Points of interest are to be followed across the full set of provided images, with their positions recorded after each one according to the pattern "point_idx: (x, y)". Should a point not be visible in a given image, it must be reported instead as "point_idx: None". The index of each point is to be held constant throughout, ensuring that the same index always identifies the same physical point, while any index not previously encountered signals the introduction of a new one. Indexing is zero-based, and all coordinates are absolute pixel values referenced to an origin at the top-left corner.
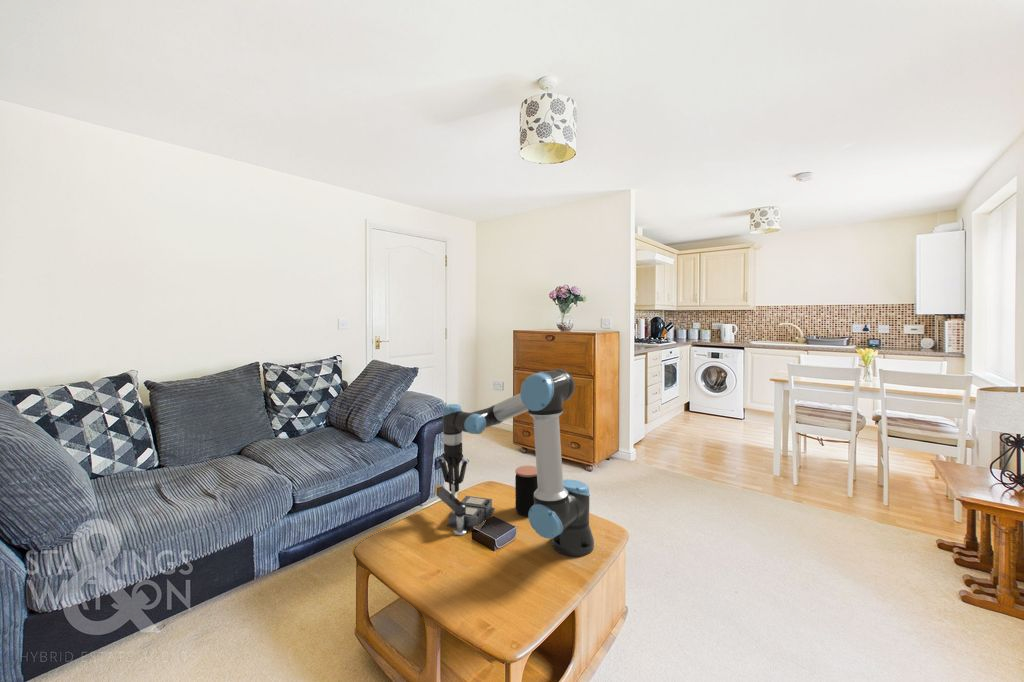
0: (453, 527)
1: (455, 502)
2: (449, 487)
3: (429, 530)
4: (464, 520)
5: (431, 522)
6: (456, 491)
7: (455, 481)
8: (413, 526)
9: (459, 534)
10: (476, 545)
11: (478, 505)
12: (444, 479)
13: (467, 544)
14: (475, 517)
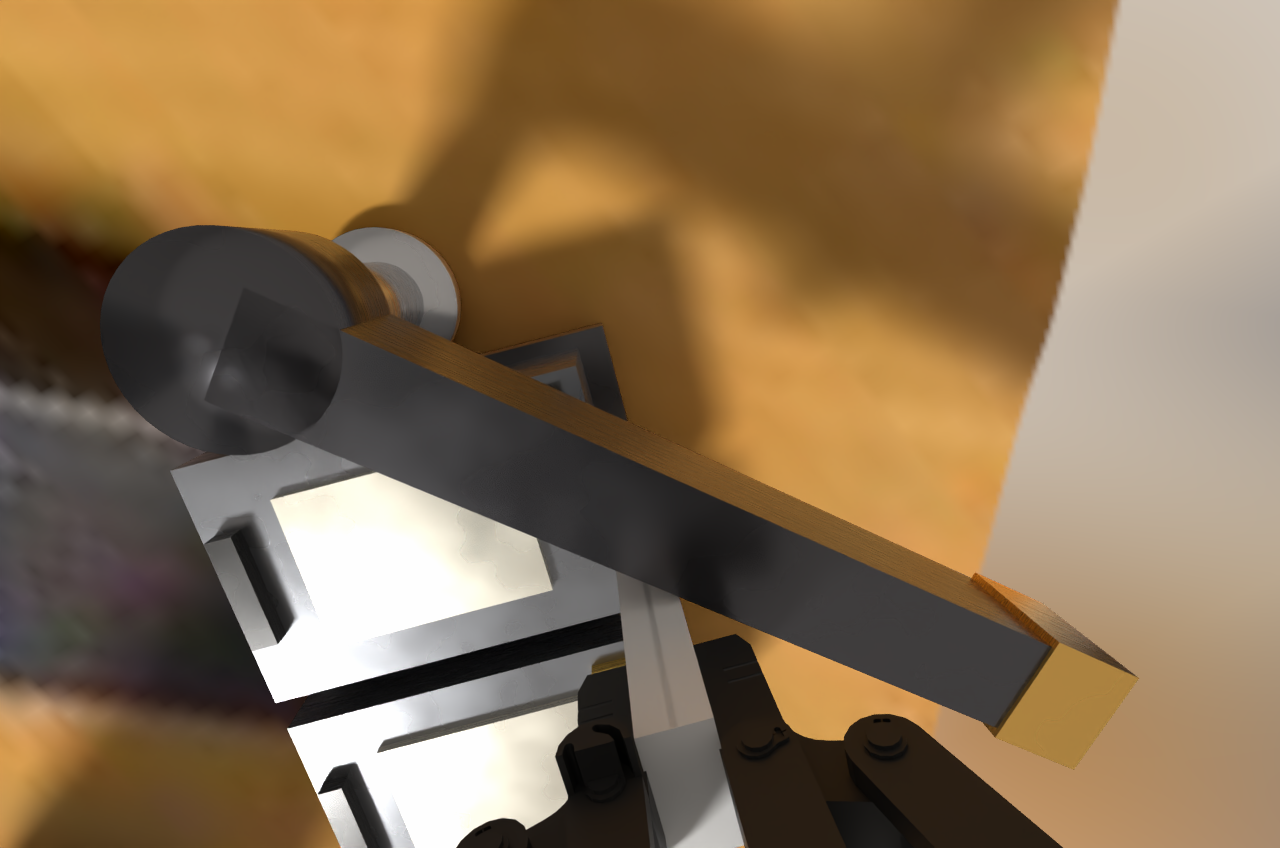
0: (522, 343)
1: (365, 371)
2: (761, 677)
3: (715, 155)
4: None
5: (807, 305)
6: (602, 676)
7: (609, 827)
8: (933, 130)
9: (339, 238)
10: (37, 171)
11: (403, 726)
12: (942, 753)
13: (136, 135)
14: (207, 471)
